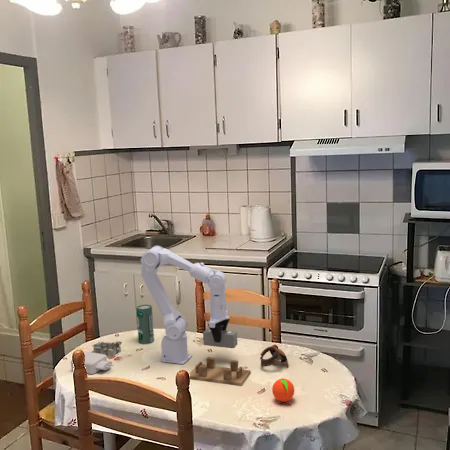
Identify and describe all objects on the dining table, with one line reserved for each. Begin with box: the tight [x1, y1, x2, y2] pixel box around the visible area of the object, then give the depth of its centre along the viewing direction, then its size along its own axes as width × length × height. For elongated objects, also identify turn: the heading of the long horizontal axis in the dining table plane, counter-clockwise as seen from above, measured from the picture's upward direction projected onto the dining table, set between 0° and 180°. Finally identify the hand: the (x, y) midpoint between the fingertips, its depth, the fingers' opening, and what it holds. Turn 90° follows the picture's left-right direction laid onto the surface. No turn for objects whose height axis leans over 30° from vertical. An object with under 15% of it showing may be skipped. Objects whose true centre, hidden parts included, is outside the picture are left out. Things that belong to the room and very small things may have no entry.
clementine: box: [271, 377, 295, 403], centre depth 160 cm, size 8×7×7 cm
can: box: [135, 304, 155, 345], centre depth 213 cm, size 6×6×15 cm
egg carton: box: [91, 340, 122, 357], centre depth 205 cm, size 11×8×4 cm
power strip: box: [202, 328, 238, 349], centre depth 191 cm, size 12×4×5 cm, turn 70°
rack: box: [188, 356, 252, 387], centre depth 179 cm, size 20×10×4 cm, turn 70°
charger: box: [70, 351, 115, 375], centre depth 189 cm, size 5×9×15 cm
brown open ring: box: [259, 344, 290, 369], centre depth 187 cm, size 12×10×8 cm
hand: (219, 339), depth 191 cm, fingers closed on power strip, 4 cm apart
